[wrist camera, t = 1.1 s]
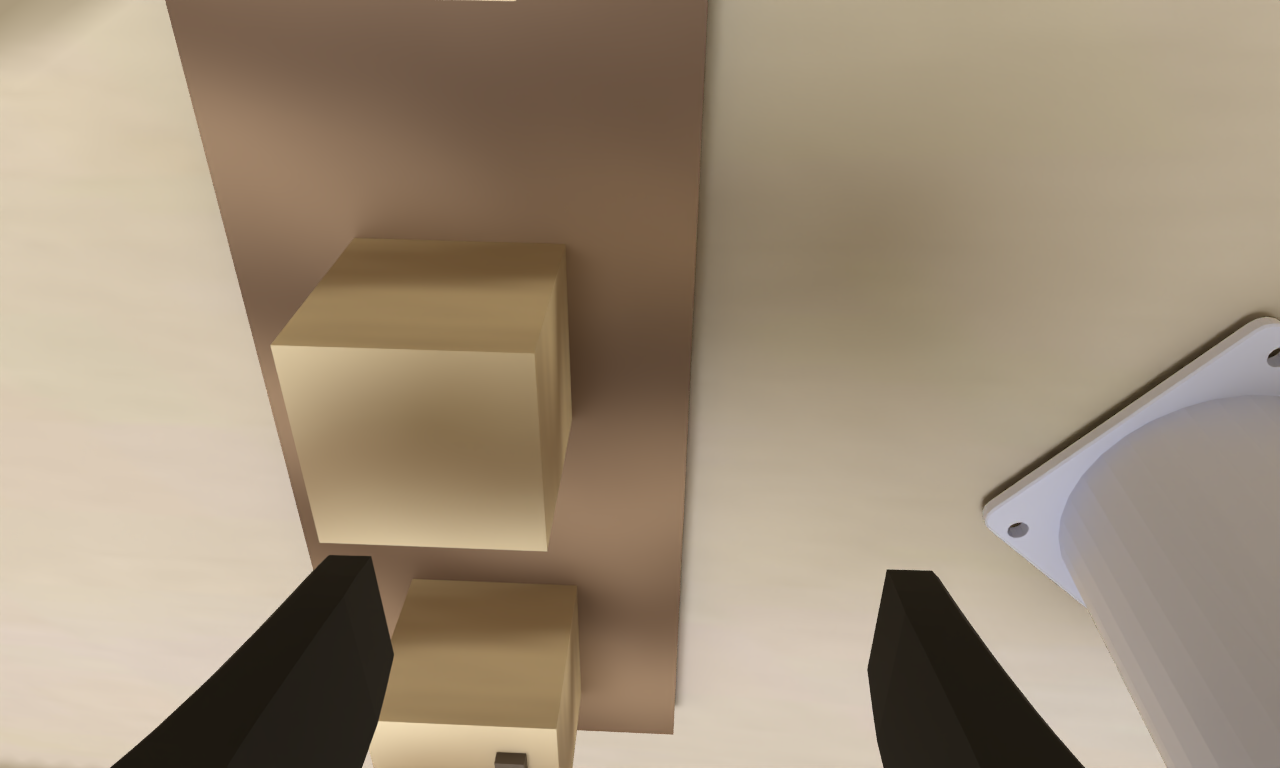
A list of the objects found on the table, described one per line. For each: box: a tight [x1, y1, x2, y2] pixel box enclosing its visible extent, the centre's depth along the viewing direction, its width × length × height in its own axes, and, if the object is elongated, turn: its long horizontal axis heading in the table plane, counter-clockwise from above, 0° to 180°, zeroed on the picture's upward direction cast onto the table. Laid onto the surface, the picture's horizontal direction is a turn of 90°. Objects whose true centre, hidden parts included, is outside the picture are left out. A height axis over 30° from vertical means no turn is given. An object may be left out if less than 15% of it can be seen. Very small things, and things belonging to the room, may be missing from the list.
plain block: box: [270, 238, 572, 551], centre depth 18 cm, size 4×4×4 cm
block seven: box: [369, 579, 581, 768], centre depth 23 cm, size 4×4×5 cm
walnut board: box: [165, 0, 708, 734], centre depth 20 cm, size 28×10×1 cm, turn 0°
